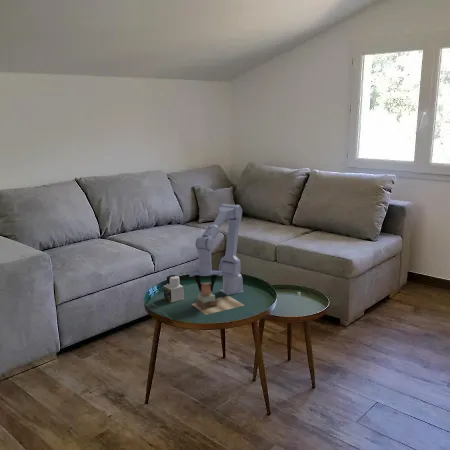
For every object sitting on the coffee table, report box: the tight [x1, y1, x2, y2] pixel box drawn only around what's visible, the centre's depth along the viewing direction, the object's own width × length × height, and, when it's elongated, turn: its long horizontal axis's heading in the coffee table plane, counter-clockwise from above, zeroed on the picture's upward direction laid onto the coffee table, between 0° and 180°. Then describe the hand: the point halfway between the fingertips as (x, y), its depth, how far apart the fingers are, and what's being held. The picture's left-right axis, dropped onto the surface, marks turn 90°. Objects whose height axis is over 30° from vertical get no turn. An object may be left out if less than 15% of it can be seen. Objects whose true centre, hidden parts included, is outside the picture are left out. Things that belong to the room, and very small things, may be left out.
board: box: [191, 295, 245, 316], centre depth 226 cm, size 20×15×1 cm
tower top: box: [197, 293, 216, 303], centre depth 225 cm, size 6×6×2 cm
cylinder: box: [200, 282, 213, 295], centre depth 224 cm, size 5×5×4 cm
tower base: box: [195, 298, 217, 309], centre depth 226 cm, size 7×7×2 cm
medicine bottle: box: [163, 274, 185, 303], centre depth 234 cm, size 7×7×12 cm
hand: (206, 290), depth 224 cm, fingers closed on cylinder, 5 cm apart
